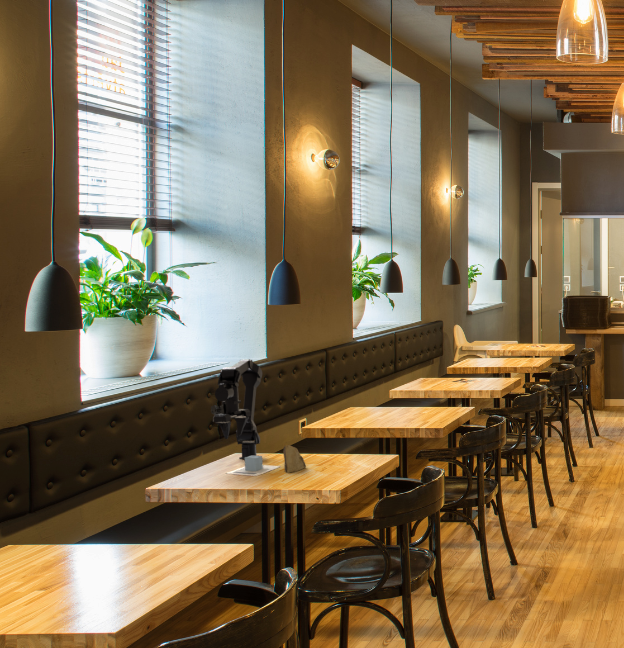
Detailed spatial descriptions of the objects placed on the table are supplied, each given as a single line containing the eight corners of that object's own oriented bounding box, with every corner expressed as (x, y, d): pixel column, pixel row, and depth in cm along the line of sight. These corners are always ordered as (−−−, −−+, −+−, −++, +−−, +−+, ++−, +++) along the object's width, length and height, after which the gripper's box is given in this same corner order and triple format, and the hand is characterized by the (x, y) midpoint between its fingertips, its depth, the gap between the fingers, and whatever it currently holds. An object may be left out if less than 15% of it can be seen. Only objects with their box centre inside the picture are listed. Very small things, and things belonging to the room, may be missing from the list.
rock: (303, 460, 322) (279, 459, 319) (308, 444, 317) (284, 443, 314) (308, 480, 313) (283, 479, 310) (314, 465, 309) (289, 464, 305)
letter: (251, 464, 328) (251, 464, 328) (280, 466, 321) (280, 466, 321) (225, 473, 312) (225, 473, 312) (256, 476, 305) (256, 475, 305)
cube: (252, 467, 320) (251, 455, 320) (262, 468, 318) (262, 456, 318) (245, 470, 316) (244, 457, 316) (255, 471, 313) (255, 458, 313)
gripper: (228, 395, 338) (229, 432, 338) (201, 400, 321) (203, 439, 322) (250, 395, 332) (252, 433, 332) (224, 401, 316) (225, 441, 316)
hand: (233, 436), depth 326 cm, fingers open, 9 cm apart
